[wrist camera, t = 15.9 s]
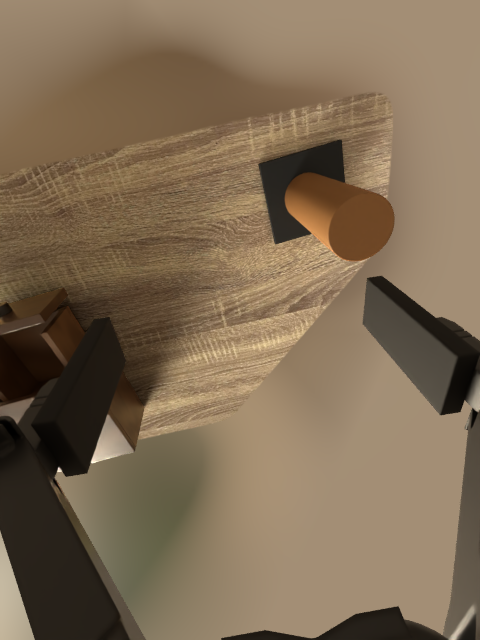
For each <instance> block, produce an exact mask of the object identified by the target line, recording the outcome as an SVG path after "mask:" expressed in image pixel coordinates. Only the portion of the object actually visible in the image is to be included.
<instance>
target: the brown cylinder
mask: <svg viewBox="0 0 480 640" xmlns="http://www.w3.org/2000/svg"><path fill="white" fill-rule="evenodd" d="M285 205H286V208H287V210H288V212H289V213H290V214H291V215H292V216H293V217H294V218H295V219H296V220H298V221H299V222H300V223H301V224H302V225H303V226H304V227H305V228H306V229H308V230H309V231H310V232H311V233H312V234H313V235H314V236H315V237H317V238H318V239H319V240H320V241H321V242H322V243H323V244H324V245H326V246H327V247H328V248H329V249H330V250H331V251H332V252H333V253H334V254H336V255H337V256H338V257H340V258H341V259H344V260H347V261H361V260H364V259H367V258H369V257H371V256H373V255H374V254H376V253H377V252H379V251H380V250H381V249H382V248H383V246H384V245H385V244H386V243H387V241H388V240H389V238H390V236H391V234H392V231H393V228H394V212H393V209H392V206H391V204H390V203H389V202H388V200H387V199H386V198H384V197H383V196H381V195H379V194H377V193H374V192H371V191H368V190H364V189H361V188H358V187H355V186H352V185H349V184H346V183H343V182H340V181H337V180H334V179H331V178H328V177H325V176H322V175H319V174H316V173H311V172H308V173H303V174H300V175H298V176H297V177H295V178H294V179H293V180H292V181H291V182H290V184H289V185H288V187H287V190H286V193H285Z"/></svg>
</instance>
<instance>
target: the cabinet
mask: <svg viewBox="0 0 480 640" xmlns="http://www.w3.org/2000/svg"><path fill="white" fill-rule="evenodd" d="M36 394H37V393H34V394H31V395H27V396H23V397H20V398H16V399H12V400H9V401H5V402H3V401H2V400H1V399H0V416H10V417H11V418H13V419H14V421H15V422H16V424H18V422H19V421H20V419H21V418H22V416H23V415H24V413H25V411H26V410H27V408H29V405H30V404H31V402H32V401H33V400H34V399H35V396H36ZM143 412H144V406H143V404H142V402H141V401H140V399H139V397H138V396H137V394H136V392H135V391H134V389H133V387H132V386H131V384H130V382H129V381H128V379H127V377H126V376H125V374H124V372H123V371H122V374H121V377H120V380H119V383H118V385H117V388H116V391H115V394H114V397H113V400H112V403H111V406H110V408H109V411H108V414H107V417H106V420H105V423H104V426H103V429H102V432H101V434H100V437H99V440H98V443H97V446H96V449H95V452H94V455H93V458H92V460H91V463H94V462H97V461H101V460H105V459H109V458H113V457H116V456H120V455H124V454H128V453H132V452H135V448H136V444H137V440H138V435H139V430H140V426H141V421H142V417H143ZM59 471H62V470H61V469H60V467H59V468H58V471H57V472H59Z"/></svg>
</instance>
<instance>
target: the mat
mask: <svg viewBox="0 0 480 640" xmlns="http://www.w3.org/2000/svg"><path fill="white" fill-rule="evenodd" d="M259 169H260V174H261V179H262V183H263V188H264V193H265V198H266V203H267V208H268V213H269V217H270V222H271V227H272V232H273V237H274V242H275V244H278V243H282V242H285V241H289V240H292V239H296V238H299V237H303V236H306V235H310V234H312V233H311V232H310V231H309V230H308V229H306V228H305V227H304V226H303V225H302V224H301V223H300V222H299V221H298V220H296V219H295V218H294V217H293V216H292V215H291V214H290V213H289V212H288V210H287V208H286V205H285V193H286V190H287V187H288V185H289V184H290V182H291V181H292V180H293V179H294V178H295V177H297V176H298V175H300V174H303V173H308V172H311V173H316V174H319V175H322V176H325V177H328V178H331V179H334V180H337V181H340V182H343V183H345V177H344V164H343V151H342V140H337V141H334V142H331V143H327V144H324V145H321V146H317V147H314V148H311V149H307V150H304V151H301V152H297V153H294V154H291V155H287V156H284V157H281V158H277V159H274V160H271V161H267V162H264V163H261V164H259Z"/></svg>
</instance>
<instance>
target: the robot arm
mask: <svg viewBox="0 0 480 640" xmlns="http://www.w3.org/2000/svg"><path fill="white" fill-rule="evenodd" d="M363 325H364V326H365V327H366V328H367V329H368V331H369V332H370V333H371V334H372V335H373V337H374V338H375V339H376V340H377V341H378V343H379V344H380V345H381V346H382V347H383V348H384V350H385V351H386V352H387V353H388V354H389V355H390V356H391V358H392V359H393V360H394V361H395V362H396V364H397V365H398V366H399V367H400V368H401V369H402V371H403V372H404V373H405V374H406V375H407V377H408V378H409V379H410V380H411V381H412V383H413V384H414V385H415V386H416V387H417V388H418V390H420V392H421V393H422V394H423V395H424V397H425V398H426V399H427V400H428V401H429V403H430V404H431V405H432V406H433V407H434V408H435V410H436V411H437V412H438V413H439V414H440V415H445V414H452V413H458V412H461V409H462V406H463V403H464V400H465V401H466V402H467V403H468V404H469V405H470V406H471V407H472V410H471V413H470V415H469V418H468V421H467V424H466V426H465V429H466V430H468V437H467V447H466V457H465V467H464V475H463V485H462V496H461V505H460V515H459V524H458V534H457V543H456V554H455V563H454V573H453V583H452V592H451V601H450V606H449V610H448V614H447V618H446V621H445V626H444V632H443V635H441V634H439V633H438V632H436V631H434V630H432V629H430V628H428V627H425V626H423V625H421V624H418V623H415V622H412V621H409V620H404V619H403V616H402V614H401V611H400V609H399V607H392V608H387V609H381V610H375V611H370V612H364V613H359V614H355V615H353V616H352V617H350V618H349V619H347V620H345V621H343V622H342V623H340V624H338V625H337V626H335V627H334V628H332V629H330V630H329V631H327V632H325V633H324V634H322V635H320V636H319V637H317V638H305V637H300V636H294V635H289V634H283V633H277V632H272V631H266V630H264V631H259V632H253V633H247V634H242V635H236V636H231V637H225V638H221V640H480V341H479V340H478V339H476V338H475V337H472V335H471V334H470V333H468V332H467V331H464V329H463V328H462V327H460V326H458V325H457V324H456V323H455V322H452V321H450V320H447V319H445V318H443V317H440V318H435V317H434V316H433V315H431V314H430V313H429V312H427V311H426V310H425V309H424V308H422V307H421V306H420V305H418V304H417V303H416V302H415V301H413V300H412V299H411V298H409V297H408V296H407V295H406V294H404V293H403V292H402V291H401V290H399V289H398V288H397V287H396V286H394V285H393V284H392V283H390V282H389V281H388V280H387V279H385V278H384V277H382V276H377V277H370V278H367V285H366V295H365V306H364V316H363ZM125 362H126V359H125V356H124V354H123V351H122V349H121V346H120V343H119V341H118V338H117V336H116V333H115V330H114V328H113V325H112V323H111V320H110V318H109V317H106V318H100V319H94V320H93V322H92V323H91V325H90V327H89V328H88V330H87V332H86V333H85V335H84V337H83V338H82V340H81V342H80V343H79V345H78V347H77V348H76V350H75V352H74V353H73V355H72V357H71V358H70V360H69V362H68V363H67V365H66V367H65V368H64V370H63V372H62V373H61V375H60V377H59V378H53V379H50V380H49V381H48V382H47V383H46V384H45V385H44V386H42V387H41V388H40V390H39V391H38V393H37V394H36V396H35V399H34V400H33V401H32V402H31V404H30V405H29V408H27V410H26V411H25V413H24V415H23V416H22V418H21V419H20V421H19V422H18V424H16V422H15V421H14V419H13V418H11V417H10V416H0V531H1V534H2V538H3V541H4V544H5V547H6V550H7V553H8V556H9V559H10V563H11V566H12V569H13V572H14V575H15V578H16V581H17V584H18V588H19V591H20V594H21V597H22V601H23V603H24V607H25V610H26V613H27V616H28V619H29V623H30V626H31V628H32V632H33V635H34V638H35V640H146V639H145V637H144V636H143V634H142V632H141V630H140V628H139V627H138V625H137V623H136V621H135V620H134V618H133V616H132V614H131V612H130V610H129V609H128V607H127V605H126V603H125V602H124V600H123V598H122V597H121V595H120V593H119V591H118V589H117V587H116V585H115V584H114V582H113V580H112V578H111V576H110V575H109V573H108V571H107V569H106V568H105V566H104V564H103V562H102V560H101V559H100V557H99V555H98V553H97V551H96V550H95V548H94V546H93V544H92V542H91V541H90V539H89V537H88V535H87V534H86V532H85V530H84V528H83V526H82V525H81V523H80V521H79V519H78V518H77V516H76V514H75V512H74V510H73V509H72V507H71V505H70V503H69V502H68V499H67V498H66V496H65V494H64V492H63V491H62V489H61V487H60V485H59V483H58V482H57V480H56V479H55V478H54V477H55V475H56V473H57V471H58V468H59V467H60V469H61V470H62V472H63V473H64V475H65V476H66V477H67V476H73V475H80V474H85V473H87V472H88V469H89V466H90V463H91V460H92V458H93V455H94V452H95V449H96V446H97V443H98V440H99V437H100V434H101V432H102V429H103V426H104V423H105V420H106V417H107V414H108V411H109V408H110V406H111V403H112V400H113V397H114V394H115V391H116V388H117V385H118V383H119V380H120V377H121V374H122V371H123V368H124V365H125Z"/></svg>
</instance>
